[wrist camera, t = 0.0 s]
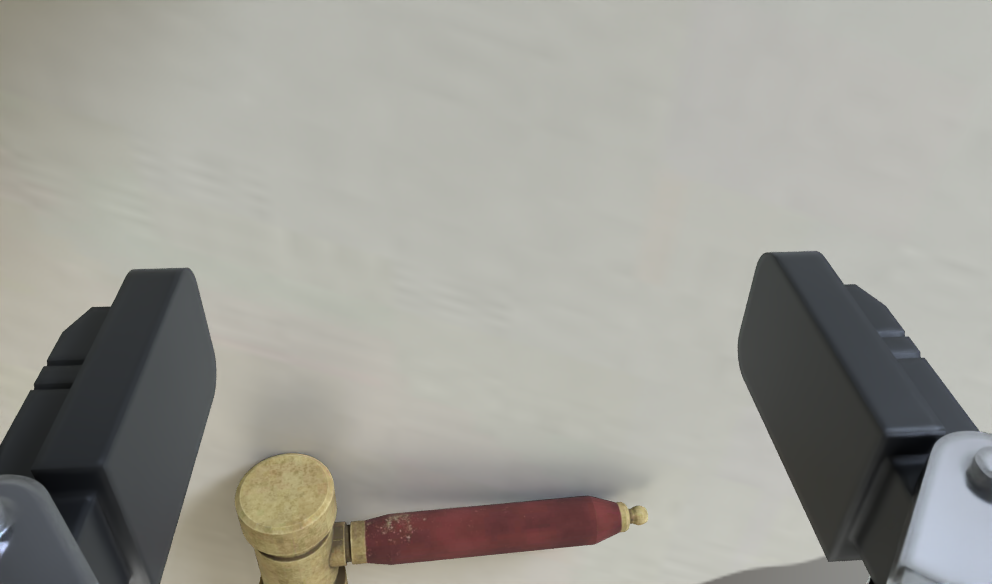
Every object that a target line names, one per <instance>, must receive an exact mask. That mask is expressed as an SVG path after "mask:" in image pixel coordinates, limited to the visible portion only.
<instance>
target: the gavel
mask: <svg viewBox="0 0 992 584" xmlns="http://www.w3.org/2000/svg"><path fill="white" fill-rule="evenodd" d="M235 506H236V510H237V514H238V518H239V521H240V525H241V528H242V532H243V534H244V536H245V538H246V540H247V541H248V542H249V543H250V544H251V545H252V546H253V547H254V550H255V554H256V557H257V561H258V565H259V568H260V572H261V577H260V582H259V584H348V583H347V576H346V569H345V566H347V562H352V564H362V563H375V564H388V565H394V564H404V563H414V562H424V561H434V560H444V559H454V558H464V557H474V556H484V555H494V554H504V553H514V552H524V551H534V550H544V549H554V548H563V547H573V546H583V545H593V544H596V543H598V542H600V541H602V540H605V539H607V538H609V537H611V536H613V535H615V534H617V533H619V532H625V531H627V530H628V529H629V525H630V524H632V523H633V524H636V525H642V524H644V523H646V522H647V520H648V513H647V510H646V508H644V507H642V506H635V507H633V508H631V509H628V508H627V506H626V505H625V504H624V503H622V502H612V501H607V500H603V499H599V498H595V497H591V496H580V497H570V498H559V499H548V500H537V501H526V502H515V503H504V504H494V505H483V506H472V507H461V508H450V509H439V510H428V511H417V512H407V513H396V514H388V515H384V516H380V517H376V518H373V519H369V520H364V521H354V522H351V525H346V524H345V522H337V523H334V521H335V518H336V513H337V505H336V497H335V490H334V483H333V479H332V476H331V473H330V472H329V470H328V469H327V467H326V466H325V465H324V464H322V463H321V462H320V461H318V460H317V459H315V458H313V457H310V456H307V455H303V454H297V453H294V454H281V455H276V456H273V457H270V458H268V459H266V460H263V461H261V462H260V463H258V464H257V465H255V466H254V467H252V468H251V469H250V470H249V471H248V472H247V473H246V474H245V476H244V477H243V478H242V480H241V481H240V483H239V485H238V487H237V490H236V494H235Z"/></svg>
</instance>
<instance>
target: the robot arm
mask: <svg viewBox="0 0 992 584" xmlns="http://www.w3.org/2000/svg"><path fill="white" fill-rule="evenodd" d="M738 360H739V366H740V370H741V374H742V377H743V379H744V381H745V383H746V385H747V388H748V390H749V392H750V394H751V396H752V398H753V401H754V403H755V405H756V407H757V409H758V411H759V413H760V416H761V418H762V420H763V422H764V424H765V426H766V428H767V431H768V433H769V435H770V437H771V439H772V441H773V444H774V446H775V448H776V450H777V452H778V454H779V456H780V459H781V461H782V463H783V465H784V467H785V469H786V472H787V474H788V476H789V478H790V480H791V482H792V484H793V487H794V489H795V491H796V493H797V495H798V497H799V499H800V502H801V504H802V506H803V508H804V510H805V512H806V515H807V517H808V519H809V521H810V523H811V525H812V527H813V530H814V532H815V534H816V536H817V538H818V540H819V543H820V545H821V547H822V549H823V551H824V553H825V555H826V558H827V560H828V562H833V561H850V560H863V562H864V564H865V566H866V568H867V570H868V572H869V574H870V576H869V578H868V580H867V583H866V584H992V434H990V433H986V432H980V431H979V430H978V429H977V427H976V426H975V425H974V423H973V422H972V421H971V419H970V418H969V417H968V415H967V414H966V413H965V411H964V410H963V409H962V407H961V406H960V405H959V403H958V402H957V401H956V399H955V398H954V397H953V395H952V394H951V393H950V391H949V390H948V389H947V387H946V386H945V384H944V383H943V382H942V380H941V379H940V378H939V376H938V375H937V374H936V372H935V371H934V370H933V368H932V367H931V366H930V364H929V363H928V362H927V360H926V359H925V358H921V357H920V351H919V350H918V348H917V347H916V346H915V344H914V343H913V342H912V340H911V339H910V338H909V337H905V331H904V330H903V328H902V327H901V326H900V324H899V323H898V322H897V320H896V319H895V318H894V316H893V315H892V314H891V312H890V311H889V310H888V308H887V307H886V306H885V305H884V304H882V303H881V302H879V301H878V300H877V299H875V298H874V297H872V296H871V295H870V294H868V293H867V292H865V291H864V290H863V289H861V288H860V287H858V286H857V285H855V284H850V285H844V284H843V283H842V281H841V280H840V278H839V277H838V275H837V274H836V273H835V271H834V270H833V268H832V267H831V265H830V264H829V263H828V261H827V260H826V258H825V257H824V256H823V255H822V254H821V253H820V252H817V251H803V252H769V253H764V254H763V255H762V256H761V257H760V259H759V261H758V263H757V266H756V270H755V273H754V277H753V281H752V285H751V289H750V293H749V297H748V301H747V305H746V309H745V313H744V317H743V321H742V325H741V329H740V333H739V338H738ZM215 387H216V360H215V353H214V349H213V345H212V341H211V337H210V333H209V329H208V325H207V321H206V317H205V313H204V309H203V305H202V301H201V297H200V293H199V289H198V286H197V282H196V278H195V276H194V274H193V272H192V271H191V269H189V268H166V269H133V270H131V271H130V272H129V273H128V274H127V276H126V277H125V280H124V282H123V284H122V286H121V288H120V290H119V292H118V294H117V296H116V298H115V300H114V302H113V304H112V306H111V307H92V308H90V309H89V310H88V311H87V312H86V313H85V314H83V315H82V316H81V317H80V318H79V319H78V320H76V321H75V322H74V323H73V324H72V325H71V326H69V327H68V328H67V329H66V330H65V331H63V332H62V334H61V336H60V338H59V340H58V341H57V343H56V345H55V347H54V349H53V350H52V352H51V354H50V356H49V358H48V360H47V366H44V367H43V369H42V370H41V372H40V374H39V376H38V378H37V379H36V381H35V383H34V390H30V392H29V394H28V396H27V398H26V399H25V401H24V403H23V405H22V407H21V409H20V410H19V412H18V414H17V416H16V418H15V419H14V421H13V423H12V425H11V427H10V429H9V430H8V432H7V434H6V436H5V438H4V439H3V441H2V443H1V445H0V584H160V581H161V578H162V574H163V571H164V568H165V564H166V561H167V557H168V554H169V550H170V547H171V543H172V540H173V536H174V533H175V529H176V526H177V523H178V519H179V516H180V512H181V509H182V505H183V502H184V498H185V495H186V491H187V488H188V484H189V481H190V478H191V474H192V471H193V467H194V464H195V460H196V457H197V453H198V450H199V446H200V443H201V439H202V436H203V433H204V429H205V426H206V422H207V419H208V415H209V412H210V408H211V405H212V401H213V398H214V394H215Z"/></svg>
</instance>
